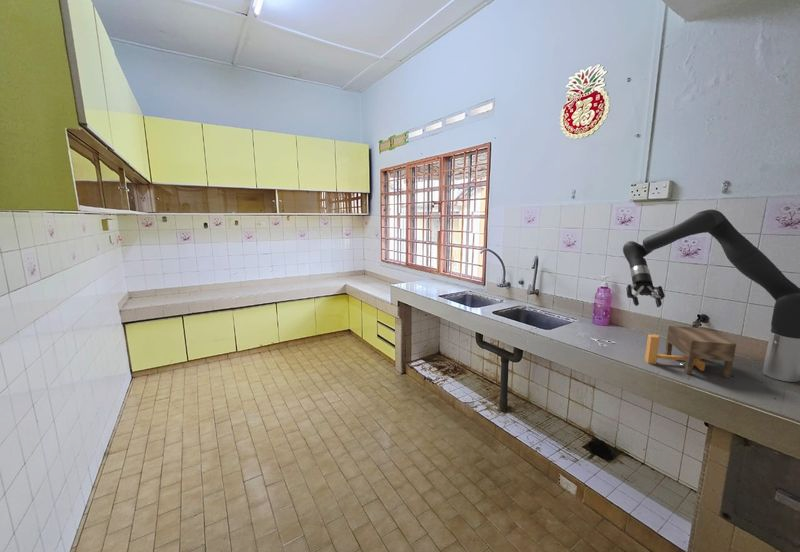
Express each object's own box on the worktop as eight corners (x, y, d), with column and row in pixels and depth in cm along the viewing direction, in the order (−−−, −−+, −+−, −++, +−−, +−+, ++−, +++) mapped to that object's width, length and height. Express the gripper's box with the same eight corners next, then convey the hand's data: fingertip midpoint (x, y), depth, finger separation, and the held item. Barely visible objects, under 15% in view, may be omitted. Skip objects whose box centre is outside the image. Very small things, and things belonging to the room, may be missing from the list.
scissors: (608, 347, 157) (569, 334, 174) (607, 349, 157) (568, 336, 174) (620, 343, 162) (581, 330, 179) (620, 344, 162) (581, 332, 179)
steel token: (689, 364, 140) (690, 362, 140) (696, 369, 135) (697, 367, 135) (676, 362, 142) (676, 361, 141) (682, 368, 137) (682, 366, 137)
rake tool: (692, 362, 141) (697, 335, 139) (704, 370, 134) (708, 342, 131) (642, 357, 146) (645, 332, 144) (650, 365, 139) (654, 338, 136)
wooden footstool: (702, 358, 144) (707, 328, 142) (730, 378, 127) (736, 344, 125) (664, 355, 148) (668, 325, 145) (686, 374, 131) (691, 341, 128)
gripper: (626, 271, 158) (633, 300, 150) (661, 272, 154) (670, 302, 146) (621, 280, 164) (627, 308, 156) (655, 281, 160) (662, 310, 152)
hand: (648, 305), depth 151 cm, fingers open, 8 cm apart
